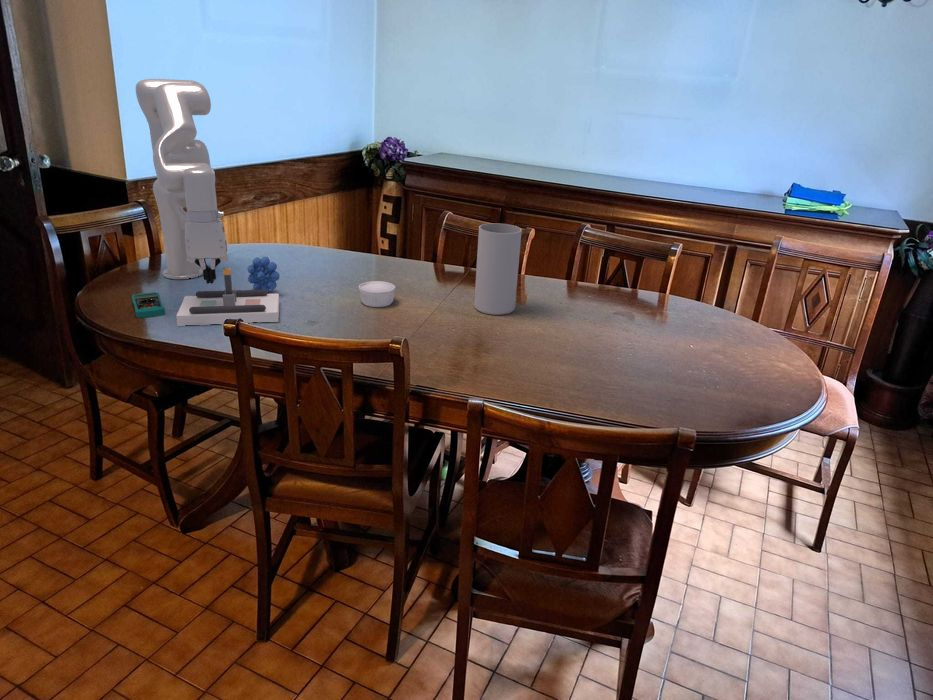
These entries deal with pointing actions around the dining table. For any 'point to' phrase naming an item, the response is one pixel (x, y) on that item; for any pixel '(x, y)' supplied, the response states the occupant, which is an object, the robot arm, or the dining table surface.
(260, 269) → the grapes
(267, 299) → the switch base plate
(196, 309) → the pair of dark bars
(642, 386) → the dining table surface
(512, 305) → the cylinder vase
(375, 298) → the ramekin
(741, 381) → the dining table surface
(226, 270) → the breaker lever
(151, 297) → the digital multimeter
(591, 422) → the dining table surface
